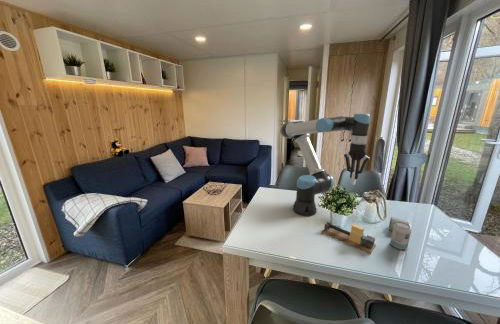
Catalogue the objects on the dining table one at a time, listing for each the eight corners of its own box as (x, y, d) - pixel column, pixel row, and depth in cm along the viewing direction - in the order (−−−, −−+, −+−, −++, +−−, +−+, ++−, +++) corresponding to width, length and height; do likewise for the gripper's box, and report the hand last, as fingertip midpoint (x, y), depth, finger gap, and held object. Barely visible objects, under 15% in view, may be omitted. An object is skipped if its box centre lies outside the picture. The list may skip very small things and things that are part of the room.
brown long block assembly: (322, 232, 112) (322, 223, 110) (328, 226, 117) (329, 218, 116) (370, 254, 95) (372, 244, 94) (375, 246, 101) (377, 236, 99)
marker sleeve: (349, 239, 103) (350, 226, 101) (352, 236, 106) (354, 222, 104) (359, 244, 100) (361, 230, 98) (362, 240, 103) (364, 226, 101)
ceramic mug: (407, 237, 107) (409, 224, 105) (388, 232, 111) (390, 220, 109) (405, 228, 115) (408, 215, 113) (388, 223, 119) (390, 211, 118)
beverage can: (405, 243, 102) (409, 222, 99) (408, 252, 96) (414, 230, 93) (388, 240, 105) (392, 219, 102) (391, 248, 99) (395, 227, 96)
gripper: (343, 142, 111) (338, 182, 117) (369, 145, 102) (363, 189, 108) (348, 140, 116) (343, 179, 122) (374, 143, 107) (367, 185, 113)
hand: (353, 183), depth 115 cm, fingers closed
